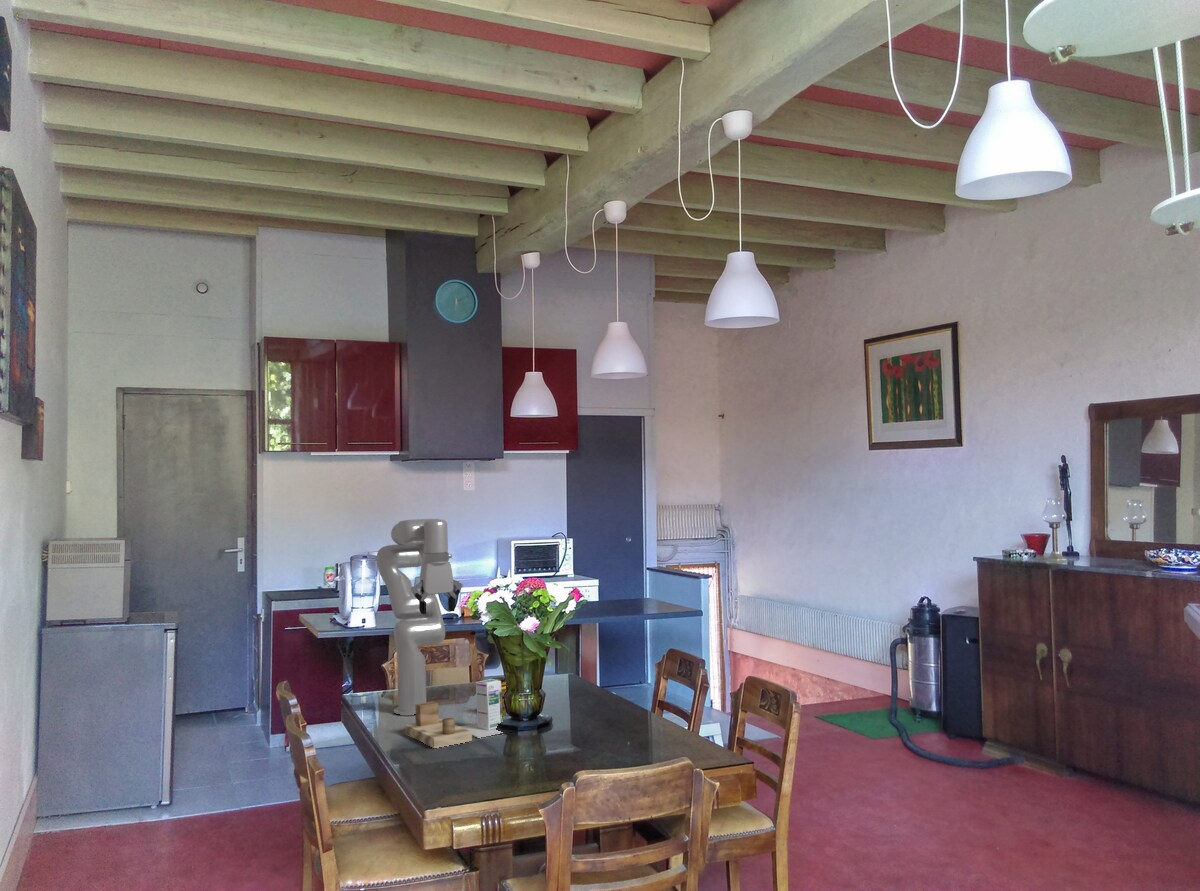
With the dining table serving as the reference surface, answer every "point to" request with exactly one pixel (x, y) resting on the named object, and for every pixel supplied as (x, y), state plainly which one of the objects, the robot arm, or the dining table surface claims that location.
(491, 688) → the syrup box
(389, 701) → the dining table surface
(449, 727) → the wooden frame with peg
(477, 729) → the grey mat
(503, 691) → the condiment
